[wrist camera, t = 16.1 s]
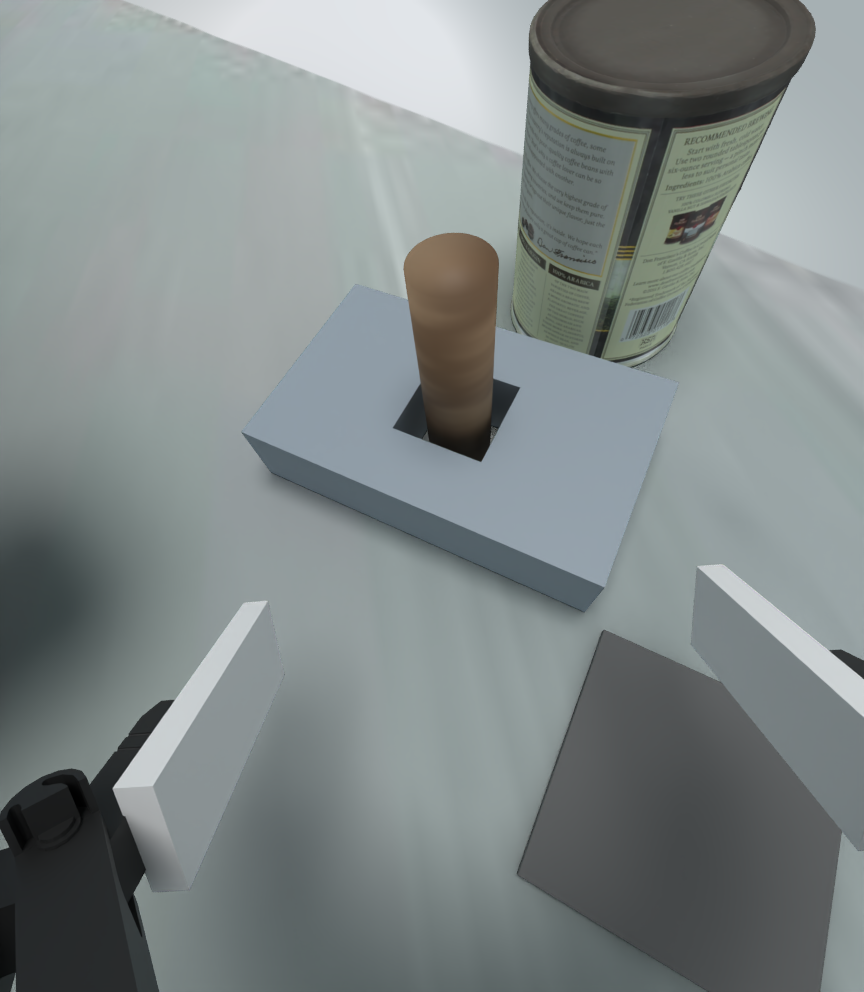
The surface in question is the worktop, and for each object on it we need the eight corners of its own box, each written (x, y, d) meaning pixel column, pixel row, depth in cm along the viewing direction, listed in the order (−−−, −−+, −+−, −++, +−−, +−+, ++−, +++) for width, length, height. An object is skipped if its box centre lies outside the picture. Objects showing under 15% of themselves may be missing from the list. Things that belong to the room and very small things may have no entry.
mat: (517, 872, 19) (517, 874, 19) (602, 631, 23) (604, 629, 22) (804, 1047, 16) (811, 1054, 16) (847, 742, 20) (853, 742, 20)
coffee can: (567, 235, 35) (619, -55, 22) (707, 296, 31) (864, -7, 19) (475, 323, 32) (475, 45, 19) (618, 402, 28) (735, 125, 16)
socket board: (271, 472, 28) (241, 432, 24) (368, 335, 32) (355, 283, 28) (584, 612, 23) (604, 587, 19) (652, 430, 27) (679, 382, 24)
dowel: (421, 464, 27) (386, 282, 17) (447, 420, 28) (430, 224, 18) (474, 486, 26) (474, 309, 16) (498, 439, 28) (513, 245, 17)
